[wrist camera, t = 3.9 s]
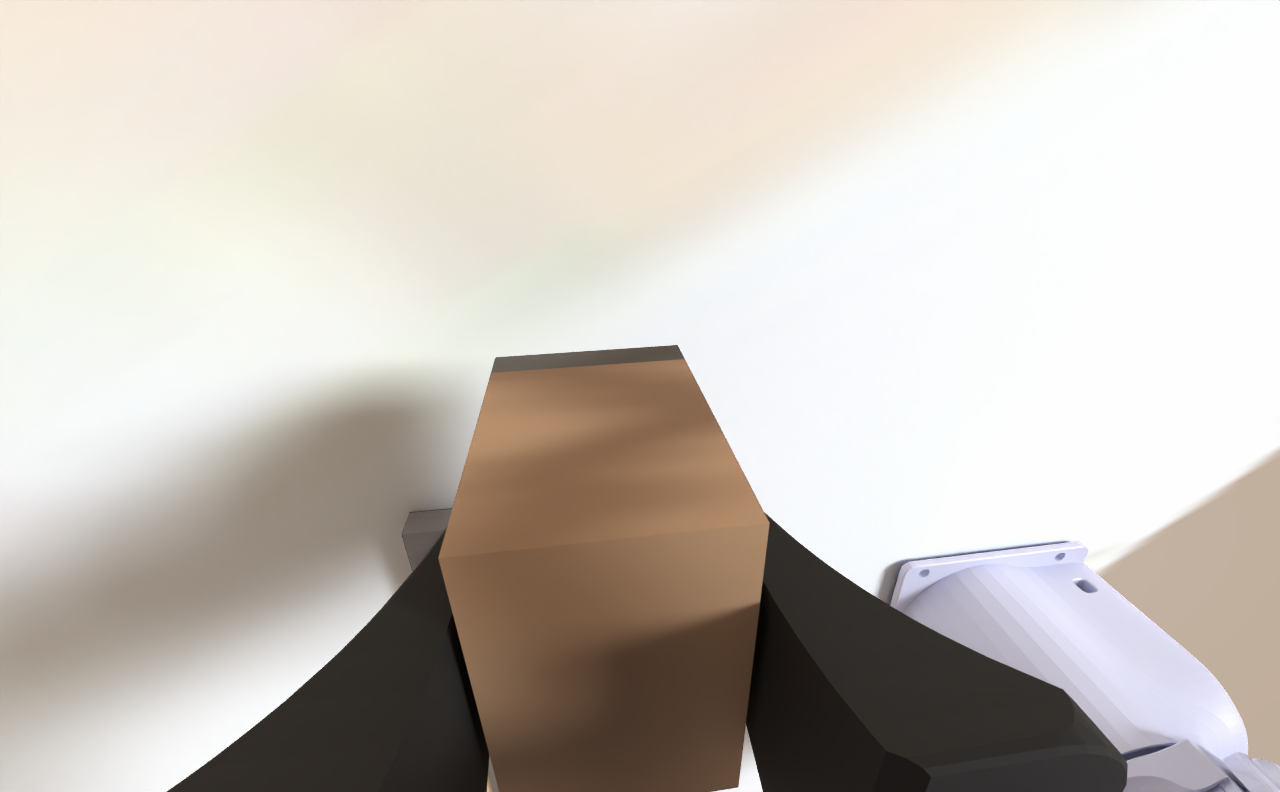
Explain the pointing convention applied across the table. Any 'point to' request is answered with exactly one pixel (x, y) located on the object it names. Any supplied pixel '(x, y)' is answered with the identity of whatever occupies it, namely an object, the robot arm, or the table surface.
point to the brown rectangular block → (605, 576)
